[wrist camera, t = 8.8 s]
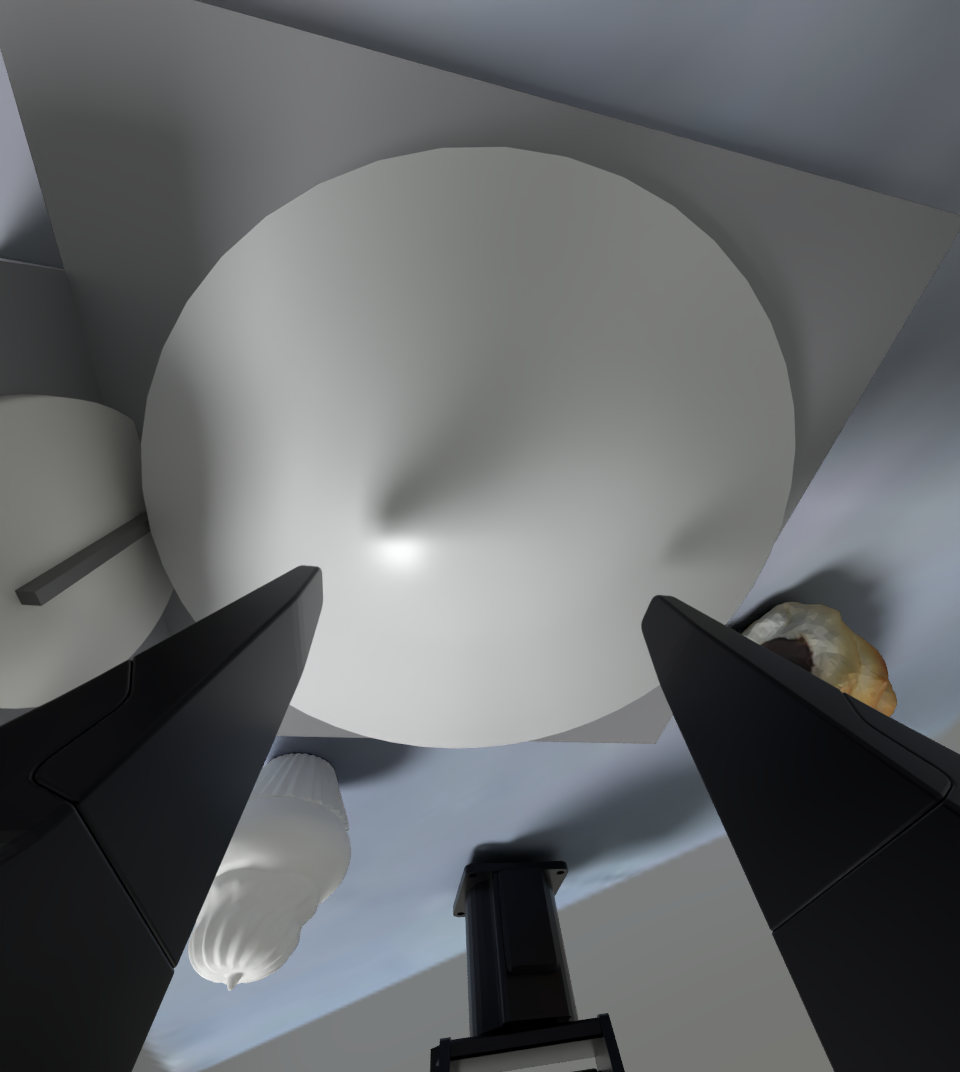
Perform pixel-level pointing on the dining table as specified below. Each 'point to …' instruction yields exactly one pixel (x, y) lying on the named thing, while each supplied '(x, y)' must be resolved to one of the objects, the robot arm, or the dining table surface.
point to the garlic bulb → (273, 872)
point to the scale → (406, 370)
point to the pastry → (826, 651)
